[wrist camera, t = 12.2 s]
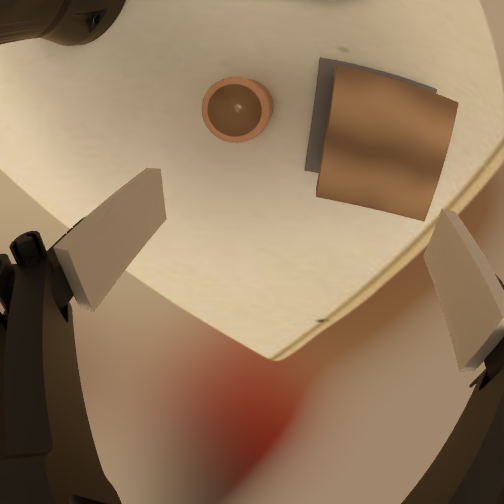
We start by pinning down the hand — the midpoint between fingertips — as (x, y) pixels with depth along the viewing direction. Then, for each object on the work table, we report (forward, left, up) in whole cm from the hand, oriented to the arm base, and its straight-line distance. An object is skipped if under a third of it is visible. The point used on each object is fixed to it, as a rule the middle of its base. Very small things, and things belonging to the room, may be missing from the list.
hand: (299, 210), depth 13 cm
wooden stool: (-1, +7, -23) cm, 24 cm away
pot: (-1, -8, -23) cm, 25 cm away
